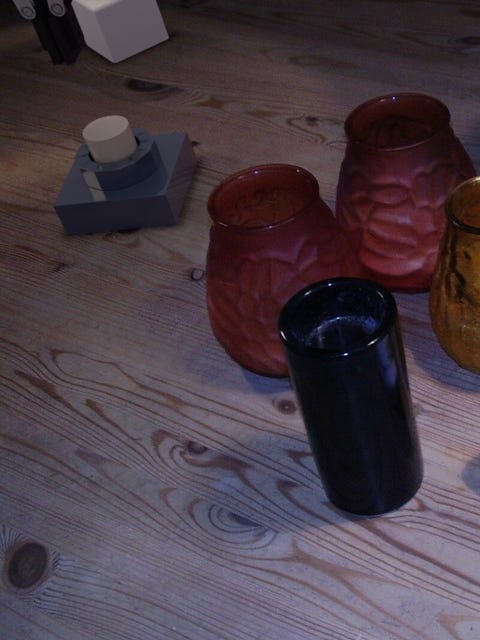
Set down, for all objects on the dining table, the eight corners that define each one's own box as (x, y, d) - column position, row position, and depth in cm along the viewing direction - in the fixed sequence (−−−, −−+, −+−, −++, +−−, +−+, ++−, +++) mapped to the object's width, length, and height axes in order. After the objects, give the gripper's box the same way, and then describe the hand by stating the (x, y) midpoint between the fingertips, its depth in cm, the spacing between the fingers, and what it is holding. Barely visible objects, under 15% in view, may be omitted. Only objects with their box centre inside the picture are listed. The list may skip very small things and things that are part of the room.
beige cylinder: (88, 167, 88) (77, 142, 86) (99, 142, 90) (89, 117, 89) (132, 163, 87) (122, 138, 86) (142, 137, 90) (132, 113, 88)
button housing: (70, 241, 90) (43, 187, 85) (98, 176, 97) (74, 123, 92) (179, 231, 89) (157, 175, 85) (199, 166, 96) (180, 112, 92)
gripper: (88, -215, 71) (168, 26, 84) (-113, -194, 72) (-4, 42, 85) (59, -180, 66) (148, 71, 79) (-159, -158, 67) (-35, 87, 80)
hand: (69, 55), depth 82 cm, fingers closed
